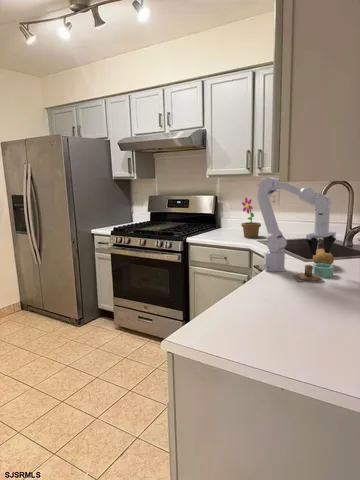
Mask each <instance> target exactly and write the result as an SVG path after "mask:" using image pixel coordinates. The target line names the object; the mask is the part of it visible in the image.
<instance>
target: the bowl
mask: <svg viewBox="0 0 360 480" xmlns="http://www.w3.org/2000/svg"><path fill="white" fill-rule="evenodd" d="M334 268H335V267H334V265H332V264H331V265H329V264H315V263H314V264H312V273H313V274H317V275H319V276H320V277H321V278H331V277H333V276H334Z"/></svg>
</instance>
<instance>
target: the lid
mask: <svg viewBox="0 0 360 480" xmlns="http://www.w3.org/2000/svg"><path fill="white" fill-rule="evenodd" d="M296 275H297V278H298V279H300V280H304V281H317V280H319V279H320V276H319V275H317V274H313V264H305V265H304V272H299V273H297V274H296Z"/></svg>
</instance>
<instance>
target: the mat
mask: <svg viewBox="0 0 360 480" xmlns="http://www.w3.org/2000/svg"><path fill="white" fill-rule="evenodd" d="M292 277H293V278H294V279H295V281H296V282H297V283H325V280H324V279H323V277H320V279H319V280H317V281H304V280H300V279H298V278H297V274H292Z"/></svg>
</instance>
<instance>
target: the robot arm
mask: <svg viewBox="0 0 360 480" xmlns="http://www.w3.org/2000/svg"><path fill="white" fill-rule="evenodd" d="M278 179H279V178H277V177H275V176H271V177H267V176H265V177H262V178H261V180H259V181H260V182H259V183H258V185H257V187H258V190H257V196H256V198H257V199H256V200H257V202H258V206H259V209H260V212H261V215H262V216H261V217H262V219H263V222H264V224H265V227H266V228H265V229H266V231H267V236H266V240H267V246H266V247H267V249H268V251H267V250H266V251H264V253H263V254H264V256H263V258H264V259H263V267H264V270H265V271H266V272H287V269H286V268H285V267H286V266H285V259H286V257H285V255H286V249H285V248H286V247H287V245H288V242H287V239H286V237H284V235H283V233H282V231H281V230H280V229H279V226H278V222H277V219H276V216H275V213H274V210H273V206H272V204H271V203H272V202H271V199H270V198H271V197H272V195H273V193H274V192H276V191H277V190H280V189H281V190H284V191H287V192H289V193H292V194H294V195H297V196H298V199H299V200H300V201H303V202H306V203H307V204H309V205H312V206H314V208H315V211H314V212H315V214H314V229H313V231H314V232H312V233H307V234H306V237H305V241H306V242H307V245H308V247H309V251H310V255H312V256H313V255H316V250H317V247H318V244H319V242H320V240H319V239H322V240H323V245H324V246H323V247H324V248H323V249H324V252H325V253H329V252H330V253H331V249H332V246H333V244H334V243H335V241H336V239H337V237H336V234H337V232H336V231H330V230H329V228H330V217H331V215H330V211H331V206H332V203H333V201H332V198H331V197H330V196H329V195H328V194H323V192H321V191H319V192H318V191H317V190H313V188H312V187H310V186H308V187H303V188H301V187H300V186H297V185H295V184H293V183H291V182H289V183H279V180H278Z"/></svg>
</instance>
